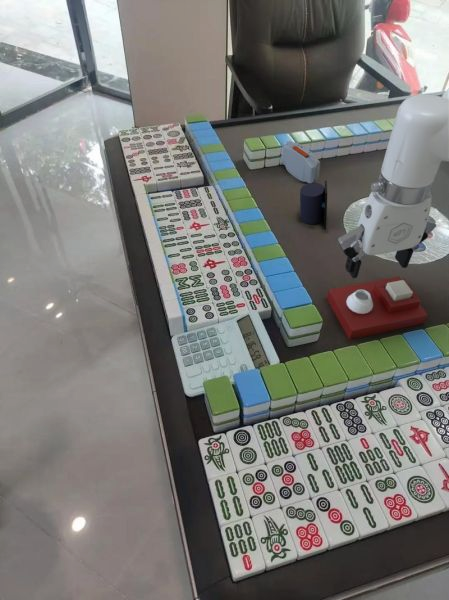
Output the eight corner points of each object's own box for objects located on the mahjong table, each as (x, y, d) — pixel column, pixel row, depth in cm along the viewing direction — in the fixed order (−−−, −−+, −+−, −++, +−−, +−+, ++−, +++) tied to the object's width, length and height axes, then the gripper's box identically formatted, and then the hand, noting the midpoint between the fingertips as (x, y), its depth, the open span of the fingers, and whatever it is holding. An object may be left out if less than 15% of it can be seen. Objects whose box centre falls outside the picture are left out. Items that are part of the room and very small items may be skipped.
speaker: (333, 216, 108) (336, 180, 100) (325, 229, 105) (328, 193, 97) (304, 210, 111) (305, 174, 103) (296, 223, 108) (297, 187, 100)
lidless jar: (373, 316, 83) (370, 297, 86) (377, 305, 81) (374, 286, 84) (347, 313, 83) (345, 295, 87) (350, 303, 81) (348, 284, 84)
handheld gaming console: (318, 186, 117) (323, 159, 112) (310, 189, 116) (315, 162, 110) (286, 162, 126) (289, 136, 120) (278, 165, 125) (280, 139, 119)
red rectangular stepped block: (395, 285, 92) (401, 270, 89) (423, 323, 85) (431, 309, 82) (326, 298, 90) (330, 283, 86) (349, 339, 83) (354, 324, 79)
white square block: (400, 285, 87) (403, 279, 85) (410, 298, 84) (413, 292, 83) (384, 288, 86) (387, 282, 85) (393, 301, 84) (396, 295, 82)
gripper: (361, 209, 61) (340, 291, 73) (469, 189, 63) (430, 272, 76) (339, 180, 66) (322, 262, 78) (440, 163, 68) (408, 246, 81)
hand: (376, 267), depth 77 cm, fingers open, 9 cm apart
